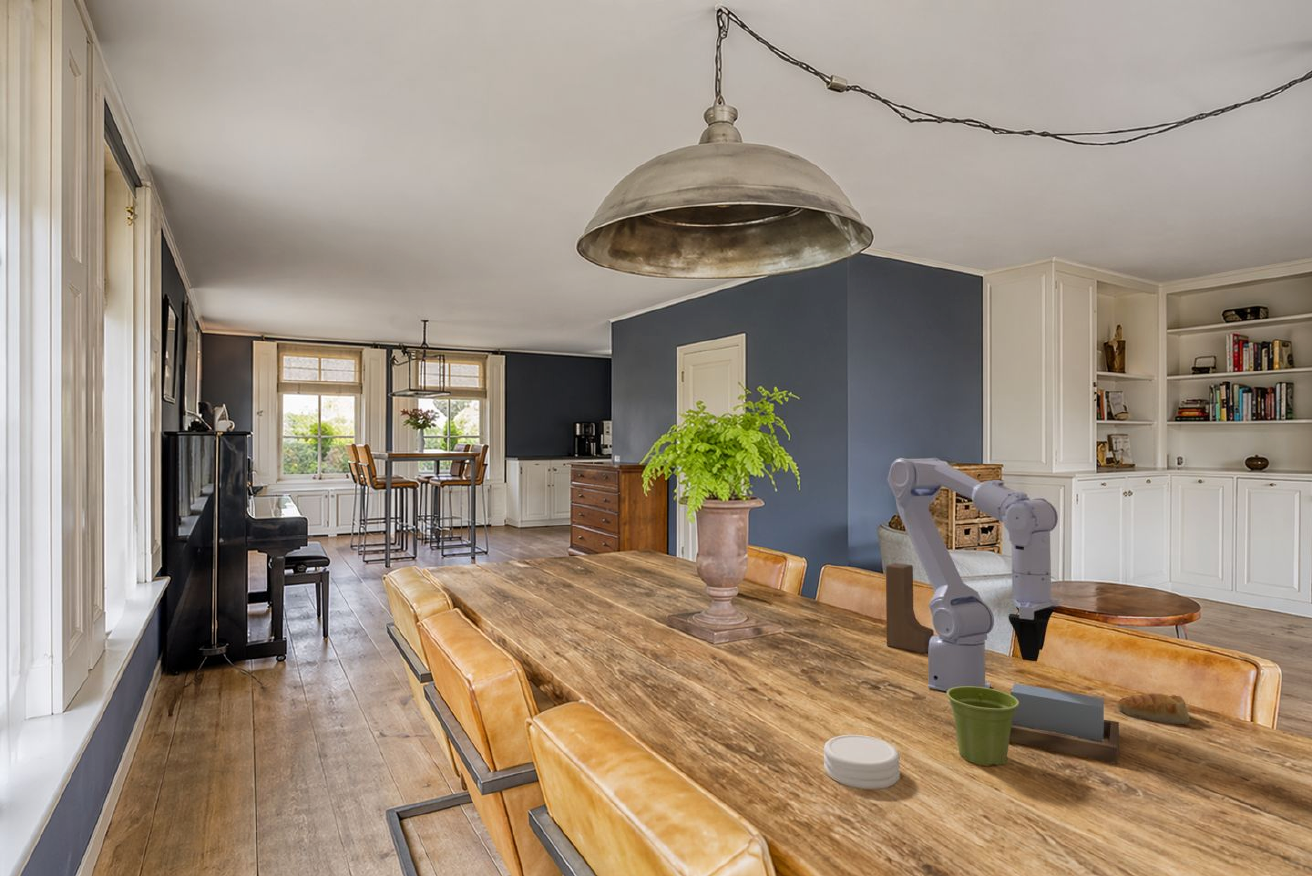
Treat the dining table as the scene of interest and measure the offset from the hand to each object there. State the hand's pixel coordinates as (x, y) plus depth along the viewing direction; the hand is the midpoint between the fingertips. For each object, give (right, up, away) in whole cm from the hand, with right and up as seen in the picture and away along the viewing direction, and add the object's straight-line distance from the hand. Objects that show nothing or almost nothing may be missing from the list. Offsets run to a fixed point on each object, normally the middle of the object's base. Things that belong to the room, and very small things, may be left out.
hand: (1032, 654), depth 117 cm
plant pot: (-16, -10, -16) cm, 25 cm away
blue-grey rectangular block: (-1, -8, -9) cm, 13 cm away
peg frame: (-1, -10, -9) cm, 14 cm away
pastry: (+20, -10, -1) cm, 22 cm away
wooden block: (-7, -11, +38) cm, 40 cm away
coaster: (-34, -10, -20) cm, 41 cm away
